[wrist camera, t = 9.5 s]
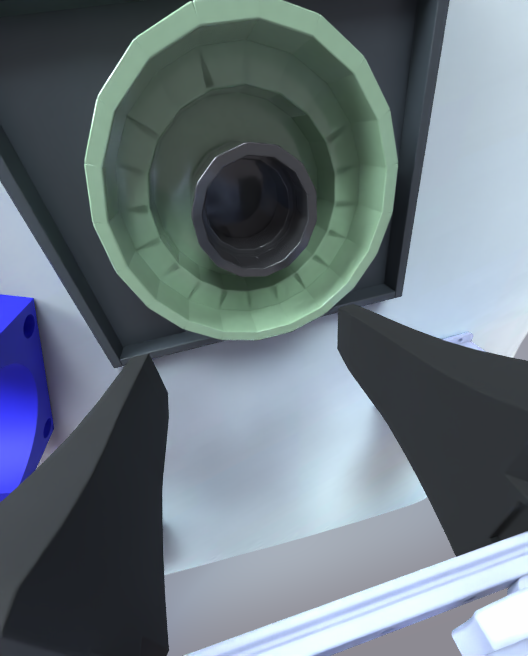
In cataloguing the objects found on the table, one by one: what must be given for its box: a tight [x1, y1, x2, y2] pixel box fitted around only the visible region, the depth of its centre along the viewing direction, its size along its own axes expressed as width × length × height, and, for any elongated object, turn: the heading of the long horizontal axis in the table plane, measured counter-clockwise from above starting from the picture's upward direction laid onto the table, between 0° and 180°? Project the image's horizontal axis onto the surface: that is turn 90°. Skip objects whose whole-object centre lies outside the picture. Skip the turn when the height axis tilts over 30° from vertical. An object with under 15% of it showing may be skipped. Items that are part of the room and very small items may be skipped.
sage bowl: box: [84, 0, 398, 340], centre depth 15 cm, size 13×13×6 cm
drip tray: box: [0, 0, 449, 368], centre depth 16 cm, size 21×17×2 cm
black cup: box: [190, 141, 317, 277], centre depth 14 cm, size 6×6×5 cm
